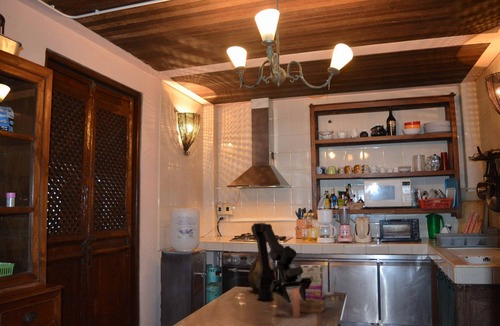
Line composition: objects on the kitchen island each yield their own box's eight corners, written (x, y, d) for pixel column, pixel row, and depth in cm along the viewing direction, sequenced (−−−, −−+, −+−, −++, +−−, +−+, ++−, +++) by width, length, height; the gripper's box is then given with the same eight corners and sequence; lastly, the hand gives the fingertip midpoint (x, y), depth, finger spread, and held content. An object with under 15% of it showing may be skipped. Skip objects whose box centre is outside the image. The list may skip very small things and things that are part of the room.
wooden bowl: (293, 310, 180) (293, 302, 181) (303, 304, 191) (303, 297, 191) (318, 314, 174) (318, 305, 175) (327, 307, 185) (327, 300, 185)
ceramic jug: (273, 296, 209) (272, 238, 212) (245, 294, 213) (244, 238, 216) (278, 289, 226) (277, 236, 229) (252, 288, 229) (251, 236, 232)
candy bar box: (323, 297, 206) (322, 265, 208) (322, 299, 201) (321, 266, 203) (302, 295, 209) (301, 264, 211) (300, 297, 205) (300, 265, 206)
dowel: (291, 316, 171) (291, 288, 172) (294, 315, 173) (294, 287, 174) (298, 317, 169) (297, 289, 170) (300, 316, 172) (300, 287, 173)
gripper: (272, 261, 174) (283, 292, 162) (309, 259, 180) (322, 288, 169) (265, 277, 180) (275, 307, 169) (301, 274, 187) (313, 303, 176)
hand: (297, 301), depth 170 cm, fingers open, 7 cm apart
